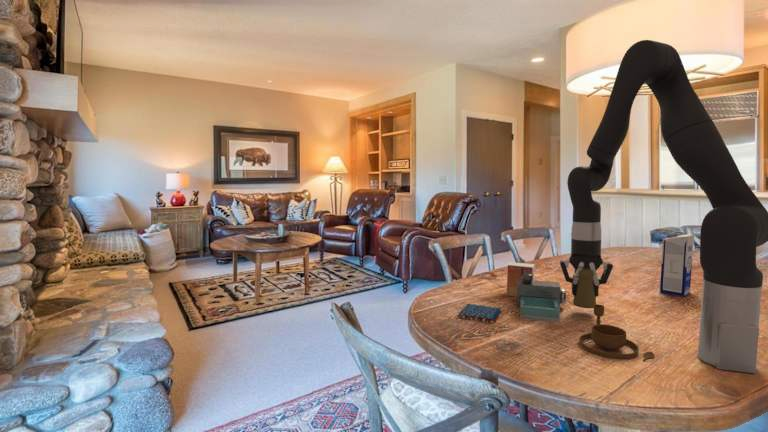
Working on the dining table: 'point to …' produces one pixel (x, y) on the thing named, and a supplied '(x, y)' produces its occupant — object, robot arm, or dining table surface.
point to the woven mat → (480, 313)
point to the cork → (585, 289)
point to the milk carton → (676, 264)
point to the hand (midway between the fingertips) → (584, 296)
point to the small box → (517, 275)
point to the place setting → (609, 339)
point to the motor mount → (539, 299)
